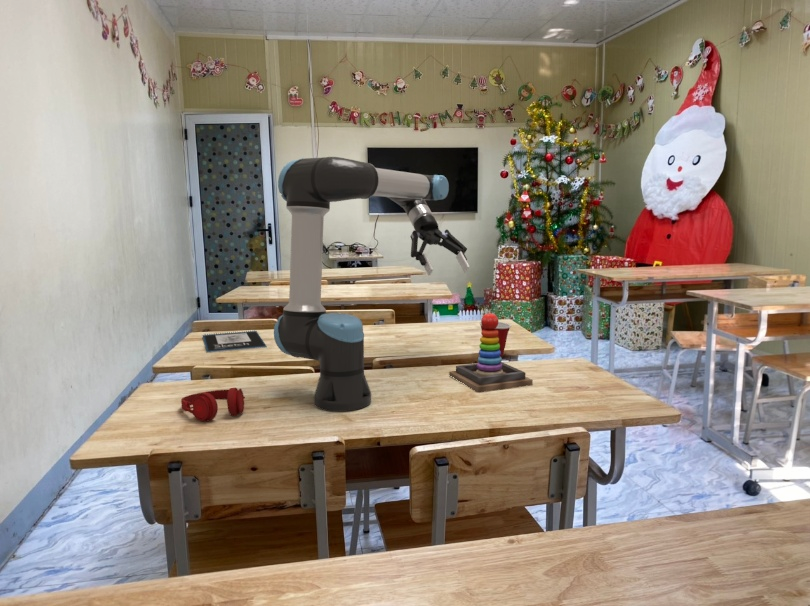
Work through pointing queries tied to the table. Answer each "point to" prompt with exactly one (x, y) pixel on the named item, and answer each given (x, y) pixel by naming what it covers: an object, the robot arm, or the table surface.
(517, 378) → the board
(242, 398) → the headphones
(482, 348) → the stacking toy
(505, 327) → the plastic cup
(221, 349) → the sketchbook
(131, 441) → the table surface
